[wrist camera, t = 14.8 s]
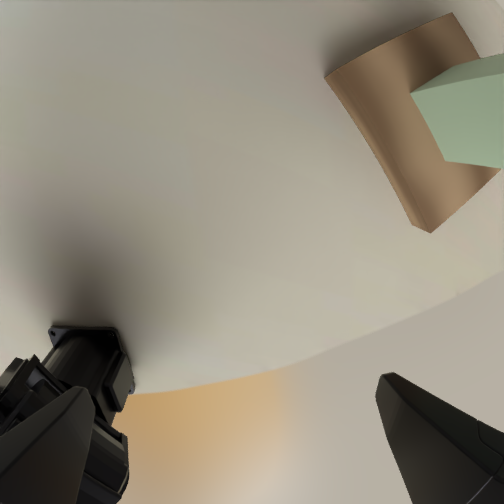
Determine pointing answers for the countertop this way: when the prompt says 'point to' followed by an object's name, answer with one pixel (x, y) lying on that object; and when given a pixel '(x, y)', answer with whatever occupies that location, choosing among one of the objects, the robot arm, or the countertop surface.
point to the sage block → (467, 111)
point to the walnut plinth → (411, 118)
